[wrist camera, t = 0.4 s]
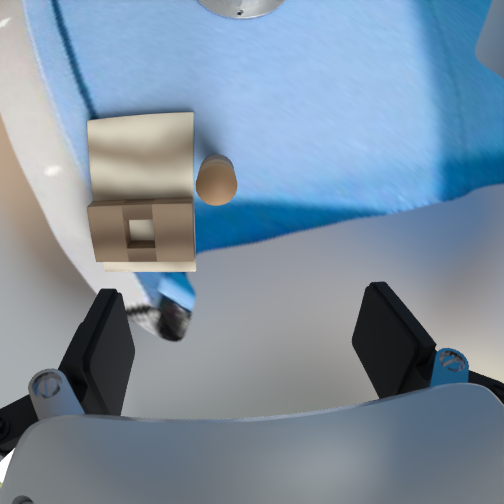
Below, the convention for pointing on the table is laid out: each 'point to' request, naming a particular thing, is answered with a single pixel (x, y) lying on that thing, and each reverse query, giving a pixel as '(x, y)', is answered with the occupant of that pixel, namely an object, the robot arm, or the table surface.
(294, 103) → the table surface
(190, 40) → the table surface
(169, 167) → the subfloor panel
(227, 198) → the tan rounded cylinder
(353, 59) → the table surface
